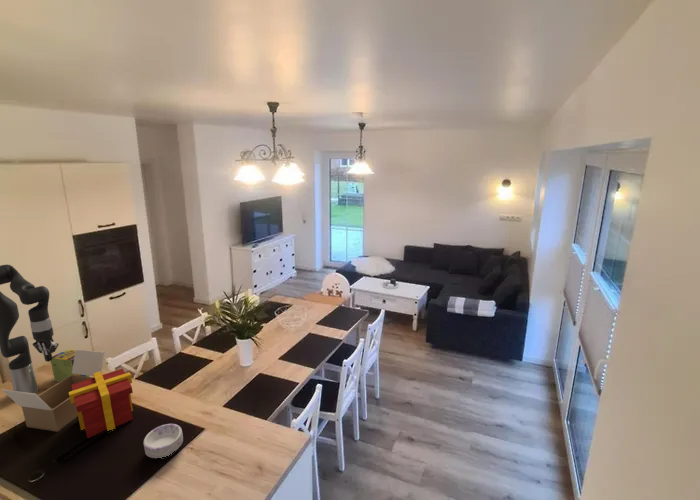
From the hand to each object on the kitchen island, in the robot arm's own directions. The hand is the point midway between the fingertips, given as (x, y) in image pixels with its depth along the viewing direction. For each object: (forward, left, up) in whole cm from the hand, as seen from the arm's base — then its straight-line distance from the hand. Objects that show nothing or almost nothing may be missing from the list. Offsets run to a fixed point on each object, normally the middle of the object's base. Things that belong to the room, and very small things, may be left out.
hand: (49, 360), depth 177 cm
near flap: (0, -13, -12) cm, 18 cm away
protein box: (-24, +29, -31) cm, 49 cm away
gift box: (+25, +2, -31) cm, 40 cm away
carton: (0, +3, -31) cm, 31 cm away
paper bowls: (+67, -11, -31) cm, 75 cm away
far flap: (0, +19, -12) cm, 23 cm away
